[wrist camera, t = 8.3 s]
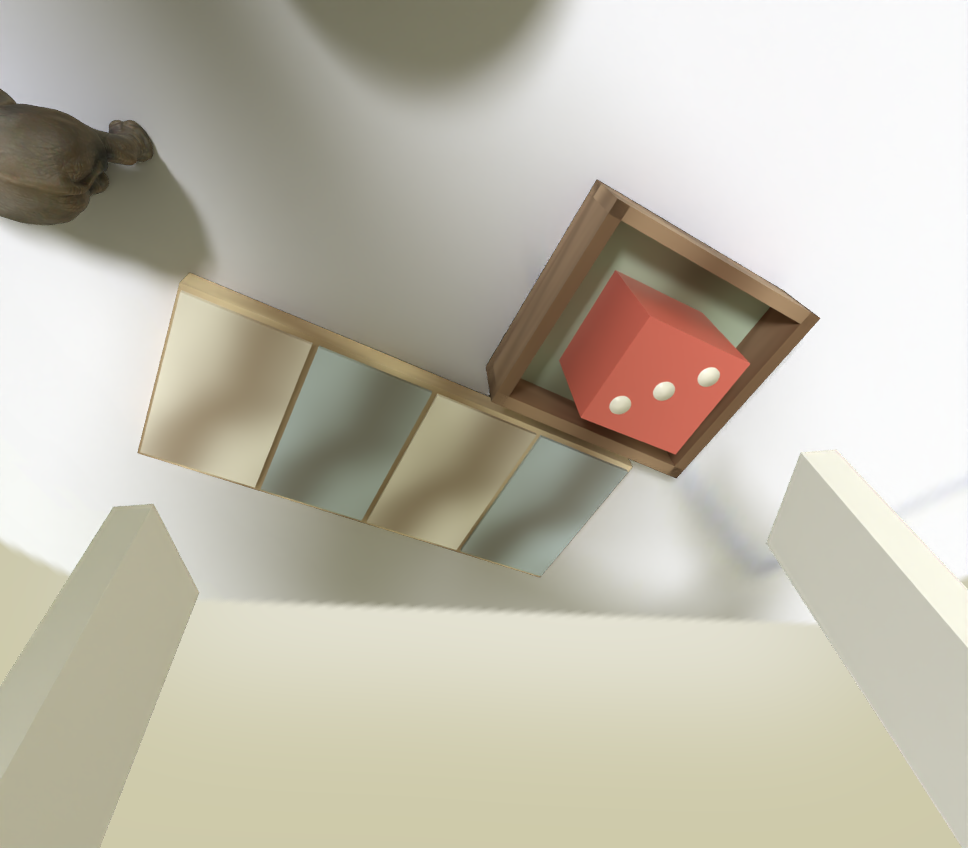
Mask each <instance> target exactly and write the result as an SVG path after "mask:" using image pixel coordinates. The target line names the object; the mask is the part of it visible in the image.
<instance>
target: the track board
mask: <svg viewBox="0 0 968 848" xmlns="http://www.w3.org/2000/svg"><path fill="white" fill-rule="evenodd" d="M138 453H139V454H142V455H145V456H149V457H152V458H155V459H158V460H162V461H165V462H168V463H171V464H174V465H178V466H181V467H184V468H187V469H191V470H194V471H197V472H200V473H204V474H207V475H210V476H213V477H217V478H220V479H223V480H226V481H230V482H233V483H236V484H239V485H242V486H246V487H249V488H252V489H255V490H259V491H262V492H265V493H268V494H272V495H275V496H278V497H281V498H285V499H288V500H291V501H294V502H297V503H301V504H304V505H307V506H310V507H314V508H317V509H320V510H323V511H327V512H330V513H333V514H336V515H340V516H343V517H346V518H349V519H352V520H356V521H359V522H362V523H365V524H369V525H372V526H375V527H378V528H382V529H385V530H388V531H391V532H395V533H398V534H401V535H404V536H407V537H411V538H414V539H417V540H420V541H424V542H427V543H430V544H433V545H437V546H440V547H443V548H446V549H450V550H453V551H456V552H459V553H462V554H466V555H469V556H472V557H475V558H479V559H482V560H485V561H488V562H492V563H495V564H498V565H501V566H505V567H508V568H511V569H514V570H517V571H521V572H524V573H527V574H530V575H534V576H537V577H541V576H542V575H543V573H544V572H545V571H546V570H547V569H548V567H549V566H550V565H551V564H552V563H553V561H554V560H555V559H556V558H557V557H558V555H559V554H560V553H561V552H562V551H563V550H564V548H565V547H566V546H567V545H568V544H569V542H570V541H571V540H572V539H573V538H574V536H575V535H576V534H577V533H578V532H579V530H580V529H581V528H582V527H583V526H584V524H585V523H586V522H587V521H588V520H589V518H590V517H591V516H592V515H593V514H594V512H595V511H596V510H597V509H598V508H599V506H600V505H601V504H602V503H603V502H604V500H605V499H606V498H607V497H608V496H609V495H610V493H611V492H612V491H613V490H614V489H615V487H616V486H617V485H618V484H619V483H620V481H621V480H622V479H623V478H624V477H625V475H626V474H627V473H628V472H629V471H630V469H631V468H632V465H631V463H630V461H629V459H628V458H626V457H623V456H621V455H619V454H616V453H614V452H611V451H609V450H606V449H604V448H602V447H599V446H597V445H594V444H592V443H589V442H587V441H585V440H582V439H580V438H577V437H575V436H572V435H570V434H568V433H565V432H563V431H560V430H558V429H556V428H553V427H551V426H548V425H546V424H543V423H541V422H539V421H536V420H534V419H531V418H529V417H526V416H524V415H522V414H519V413H517V412H514V411H512V410H509V409H507V408H505V407H502V406H500V405H497V404H495V403H492V402H491V398H490V397H488V396H486V395H483V394H481V393H479V392H476V391H474V390H471V389H469V388H467V387H464V386H462V385H459V384H457V383H455V382H452V381H450V380H447V379H445V378H442V377H440V376H438V375H435V374H433V373H430V372H428V371H426V370H423V369H421V368H418V367H416V366H414V365H411V364H409V363H406V362H404V361H401V360H399V359H397V358H394V357H392V356H389V355H387V354H385V353H382V352H380V351H377V350H375V349H373V348H370V347H368V346H365V345H363V344H361V343H358V342H356V341H353V340H351V339H348V338H346V337H344V336H341V335H339V334H336V333H334V332H332V331H329V330H327V329H324V328H322V327H320V326H317V325H315V324H312V323H310V322H307V321H305V320H303V319H300V318H298V317H295V316H293V315H291V314H288V313H286V312H283V311H281V310H279V309H276V308H274V307H271V306H269V305H267V304H264V303H262V302H259V301H257V300H254V299H252V298H250V297H247V296H245V295H242V294H240V293H238V292H235V291H233V290H230V289H228V288H226V287H223V286H221V285H218V284H216V283H213V282H211V281H209V280H206V279H204V278H201V277H199V276H197V275H194V274H192V273H189V274H188V275H187V276H186V277H185V278H184V279H183V280H182V281H181V282H180V283H179V287H178V291H177V295H176V299H175V303H174V307H173V311H172V315H171V319H170V323H169V327H168V331H167V336H166V340H165V344H164V348H163V352H162V356H161V360H160V364H159V368H158V372H157V376H156V380H155V384H154V388H153V392H152V396H151V400H150V404H149V408H148V412H147V416H146V420H145V424H144V428H143V433H142V437H141V441H140V445H139V449H138Z"/></svg>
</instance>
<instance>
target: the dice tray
mask: <svg viewBox="0 0 968 848" xmlns="http://www.w3.org/2000/svg"><path fill="white" fill-rule="evenodd" d="M615 270H617V271H619V272H621V273H623V274H625V275H627V276H629V277H631V278H633V279H635V280H637V281H639V282H641V283H643V284H645V285H647V286H649V287H651V288H653V289H655V290H657V291H659V292H661V293H663V294H665V295H667V296H669V297H671V298H673V299H675V300H677V301H680V302H682V303H684V304H686V305H688V306H690V307H692V308H694V309H696V310H698V311H700V312H702V313H703V314H704V315H705V316H706V317H707V318H708V319H709V320H710V321H711V322H712V323H713V325H714V326H715V327H716V328H717V329H718V330H719V331H720V332H721V333H722V334H723V335H724V336H725V337H726V338H727V339H728V340H729V341H730V343H731V344H732V345H733V346H734V347H735V348H736V349H737V350H738V351H739V352H740V353H741V354H742V355H743V356H744V357H745V358H746V359H747V361H748V362H749V363H750V365H749V366H748V367H747V369H746V370H745V371H744V372H743V374H742V375H741V376H740V377H739V378H738V380H737V381H736V382H735V383H734V384H733V386H732V387H731V388H730V389H729V390H728V392H727V393H726V394H725V395H724V397H723V398H722V399H721V400H720V401H719V403H718V404H717V405H716V406H715V407H714V409H713V410H712V411H711V412H710V413H709V415H708V416H707V417H706V418H705V419H704V421H703V422H702V423H701V424H700V426H699V427H698V428H697V429H696V430H695V432H694V433H693V434H692V435H691V436H690V438H689V439H688V440H687V441H686V442H685V444H684V445H683V446H682V447H681V449H680V450H679V451H678V452H677V453H676V455H675V454H673V453H670V452H668V451H665V450H663V449H660V448H657V447H655V446H652V445H650V444H647V443H645V442H642V441H639V440H637V439H634V438H632V437H629V436H626V435H624V434H621V433H619V432H616V431H614V430H611V429H608V428H606V427H603V426H601V425H598V424H596V423H593V422H590V421H588V420H585V419H583V418H581V417H580V415H579V412H578V409H577V407H576V404H575V402H574V399H573V396H572V394H571V391H570V388H569V386H568V383H567V380H566V378H565V375H564V372H563V370H562V367H561V364H560V362H559V360H560V358H561V356H562V355H563V353H564V352H565V350H566V348H567V347H568V345H569V344H570V342H571V340H572V339H573V337H574V335H575V334H576V332H577V331H578V329H579V327H580V326H581V324H582V323H583V321H584V319H585V318H586V316H587V315H588V313H589V311H590V310H591V308H592V307H593V305H594V303H595V302H596V300H597V298H598V297H599V295H600V294H601V292H602V290H603V289H604V287H605V286H606V284H607V282H608V281H609V279H610V278H611V276H612V274H613V273H614V271H615ZM819 319H820V318H819V317H818V316H817V315H815V314H814V313H813V312H811V311H810V310H809V309H807V308H806V307H805V306H803V305H802V304H801V303H799V302H798V301H797V300H795V299H794V298H793V297H791V296H790V295H789V294H787V293H786V292H785V291H783V290H782V289H780V288H779V287H777V286H775V285H773V284H772V283H770V282H768V281H767V280H765V279H763V278H762V277H760V276H758V275H757V274H755V273H753V272H752V271H750V270H748V269H747V268H745V267H743V266H742V265H740V264H738V263H737V262H735V261H733V260H732V259H730V258H728V257H726V256H725V255H723V254H721V253H720V252H718V251H716V250H715V249H713V248H711V247H710V246H708V245H706V244H705V243H703V242H701V241H700V240H698V239H696V238H695V237H693V236H691V235H690V234H688V233H686V232H685V231H683V230H681V229H679V228H678V227H676V226H674V225H673V224H671V223H669V222H668V221H666V220H664V219H663V218H661V217H659V216H658V215H656V214H654V213H653V212H651V211H649V210H648V209H646V208H644V207H643V206H641V205H639V204H638V203H636V202H634V201H632V200H631V199H629V198H627V197H626V196H624V195H622V194H621V193H619V192H617V191H616V190H614V189H612V188H611V187H609V186H607V185H606V184H604V183H602V182H601V181H599V180H596V182H595V183H594V185H593V187H592V188H591V190H590V192H589V194H588V195H587V197H586V199H585V200H584V202H583V204H582V205H581V207H580V209H579V210H578V212H577V214H576V215H575V217H574V219H573V221H572V222H571V224H570V226H569V227H568V229H567V231H566V232H565V234H564V236H563V237H562V239H561V241H560V242H559V244H558V246H557V247H556V249H555V251H554V253H553V254H552V256H551V258H550V259H549V261H548V263H547V264H546V266H545V268H544V269H543V271H542V273H541V274H540V276H539V278H538V280H537V281H536V283H535V285H534V286H533V288H532V290H531V291H530V293H529V295H528V296H527V298H526V300H525V301H524V303H523V305H522V307H521V308H520V310H519V312H518V313H517V315H516V317H515V318H514V320H513V322H512V323H511V325H510V327H509V328H508V330H507V332H506V334H505V335H504V337H503V339H502V340H501V342H500V344H499V345H498V347H497V349H496V350H495V352H494V354H493V355H492V357H491V359H490V361H489V362H488V364H487V366H486V372H487V379H488V385H489V392H490V398H491V402H492V403H495V404H497V405H500V406H502V407H505V408H507V409H509V410H512V411H514V412H517V413H519V414H522V415H524V416H526V417H529V418H531V419H534V420H536V421H539V422H541V423H543V424H546V425H548V426H551V427H553V428H556V429H558V430H560V431H563V432H565V433H568V434H570V435H572V436H575V437H577V438H580V439H582V440H585V441H587V442H589V443H592V444H594V445H597V446H599V447H602V448H604V449H606V450H609V451H611V452H614V453H616V454H619V455H621V456H623V457H626V458H628V459H631V460H633V461H636V462H638V463H640V464H643V465H645V466H648V467H650V468H653V469H655V470H657V471H660V472H662V473H665V474H667V475H670V476H672V477H674V478H677V477H678V476H679V475H680V474H681V473H682V472H683V470H684V469H685V468H686V467H687V466H688V465H689V464H690V463H691V462H692V460H693V459H694V458H695V457H696V456H697V455H698V454H699V453H700V452H701V450H702V449H703V448H704V447H705V446H706V445H707V444H708V443H709V442H710V440H711V439H712V438H713V437H714V436H715V435H716V434H717V433H718V432H719V430H720V429H721V428H722V427H723V426H724V425H725V424H726V423H727V422H728V420H729V419H730V418H731V417H732V416H733V415H734V414H735V413H736V412H737V410H738V409H739V408H740V407H741V406H742V405H743V404H744V403H745V402H746V400H747V399H748V398H749V397H750V396H751V395H752V394H753V393H754V392H755V390H756V389H757V388H758V387H759V386H760V385H761V384H762V383H763V382H764V380H765V379H766V378H767V377H768V376H769V375H770V374H771V373H772V372H773V370H774V369H775V368H776V367H777V366H778V365H779V364H780V363H781V362H782V360H783V359H784V358H785V357H786V356H787V355H788V354H789V353H790V352H791V350H792V349H793V348H794V347H795V346H796V345H797V344H798V343H799V342H800V340H801V339H802V338H803V337H804V336H805V335H806V334H807V333H808V332H809V330H810V329H811V328H812V327H813V326H814V325H815V324H816V323H817V322H818V320H819Z"/></svg>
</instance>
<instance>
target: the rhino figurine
mask: <svg viewBox="0 0 968 848" xmlns="http://www.w3.org/2000/svg"><path fill="white" fill-rule="evenodd" d="M152 156H153V148H152V144H151V142H150V140H149V138H148V136H147V134H146V133H145V131H144V130H143V129H142V128H141V127H140V126H139V124H137V123H136V122H134V121H132V120H127V121H124V122H122V121H120V120H114V121H112V122H111V123H110V125H109V133H107V132H103V131H99V130H96V129H93V128H91V127H89V126H87V125H85V124H84V123H82V122H80V121H79V120H77V119H76V118H74V117H72V116H70V115H68V114H66V113H63V112H61V111H58V110H55V109H49V108H44V107H38V106H33V105H27V104H16V102H15V101H14V100H13V99H12V98H11V97H10V96H9V95H8V94H7V93H5V92H4V91H3V90H2V89H0V216H2V217H5V218H8V219H11V220H15V221H18V222H22V223H27V224H39V225H53V224H59V223H65V222H69V221H71V220H73V219H75V218H76V217H77V216H78V215H79V214H80V213H81V212H82V211H83V210H84V209H85V208H86V207H87V205H88V203H89V198H90V196H91V195H94V194H98V193H101V192H103V191H105V189H106V188H107V187H108V184H109V181H108V178H107V176H106V174H105V173H104V171H106V170H107V168H108V162H113V163H119V164H124V165H133V164H135V163H136V162H137V161H140V162H144V161H147V160H149V159H151V158H152Z"/></svg>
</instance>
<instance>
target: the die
mask: <svg viewBox="0 0 968 848" xmlns="http://www.w3.org/2000/svg"><path fill="white" fill-rule="evenodd" d="M559 362H560V364H561V367H562V370H563V372H564V375H565V378H566V380H567V383H568V386H569V388H570V391H571V394H572V396H573V399H574V402H575V404H576V407H577V409H578V412H579V415H580V417H581V418H583V419H585V420H588V421H590V422H593V423H596V424H598V425H601V426H603V427H606V428H608V429H611V430H614V431H616V432H619V433H621V434H624V435H626V436H629V437H632V438H634V439H637V440H639V441H642V442H645V443H647V444H650V445H652V446H655V447H657V448H660V449H663V450H665V451H668V452H670V453H673V454H675V455H676V453H677V452H678V451H679V450H680V449H681V447H682V446H683V445H684V444H685V442H686V441H687V440H688V439H689V438H690V436H691V435H692V434H693V433H694V432H695V430H696V429H697V428H698V427H699V426H700V424H701V423H702V422H703V421H704V419H705V418H706V417H707V416H708V415H709V413H710V412H711V411H712V410H713V409H714V407H715V406H716V405H717V404H718V403H719V401H720V400H721V399H722V398H723V397H724V395H725V394H726V393H727V392H728V390H729V389H730V388H731V387H732V386H733V384H734V383H735V382H736V381H737V380H738V378H739V377H740V376H741V375H742V374H743V372H744V371H745V370H746V369H747V367H748V366H749V365H750V363H749V362H748V361H747V359H746V358H745V357H744V356H743V355H742V354H741V353H740V352H739V351H738V350H737V349H736V348H735V347H734V346H733V345H732V344H731V343H730V341H729V340H728V339H727V338H726V337H725V336H724V335H723V334H722V333H721V332H720V331H719V330H718V329H717V328H716V327H715V326H714V325H713V323H712V322H711V321H710V320H709V319H708V318H707V317H706V316H705V315H704V314H703V313H702V312H700V311H698V310H696V309H694V308H692V307H690V306H688V305H686V304H684V303H682V302H680V301H677V300H675V299H673V298H671V297H669V296H667V295H665V294H663V293H661V292H659V291H657V290H655V289H653V288H651V287H649V286H647V285H645V284H643V283H641V282H639V281H637V280H635V279H633V278H631V277H629V276H627V275H625V274H623V273H621V272H619V271H617V270H615V271H614V273H613V274H612V276H611V278H610V279H609V281H608V282H607V284H606V286H605V287H604V289H603V290H602V292H601V294H600V295H599V297H598V298H597V300H596V302H595V303H594V305H593V307H592V308H591V310H590V311H589V313H588V315H587V316H586V318H585V319H584V321H583V323H582V324H581V326H580V327H579V329H578V331H577V332H576V334H575V335H574V337H573V339H572V340H571V342H570V344H569V345H568V347H567V348H566V350H565V352H564V353H563V355H562V356H561V358H560V360H559Z"/></svg>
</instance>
